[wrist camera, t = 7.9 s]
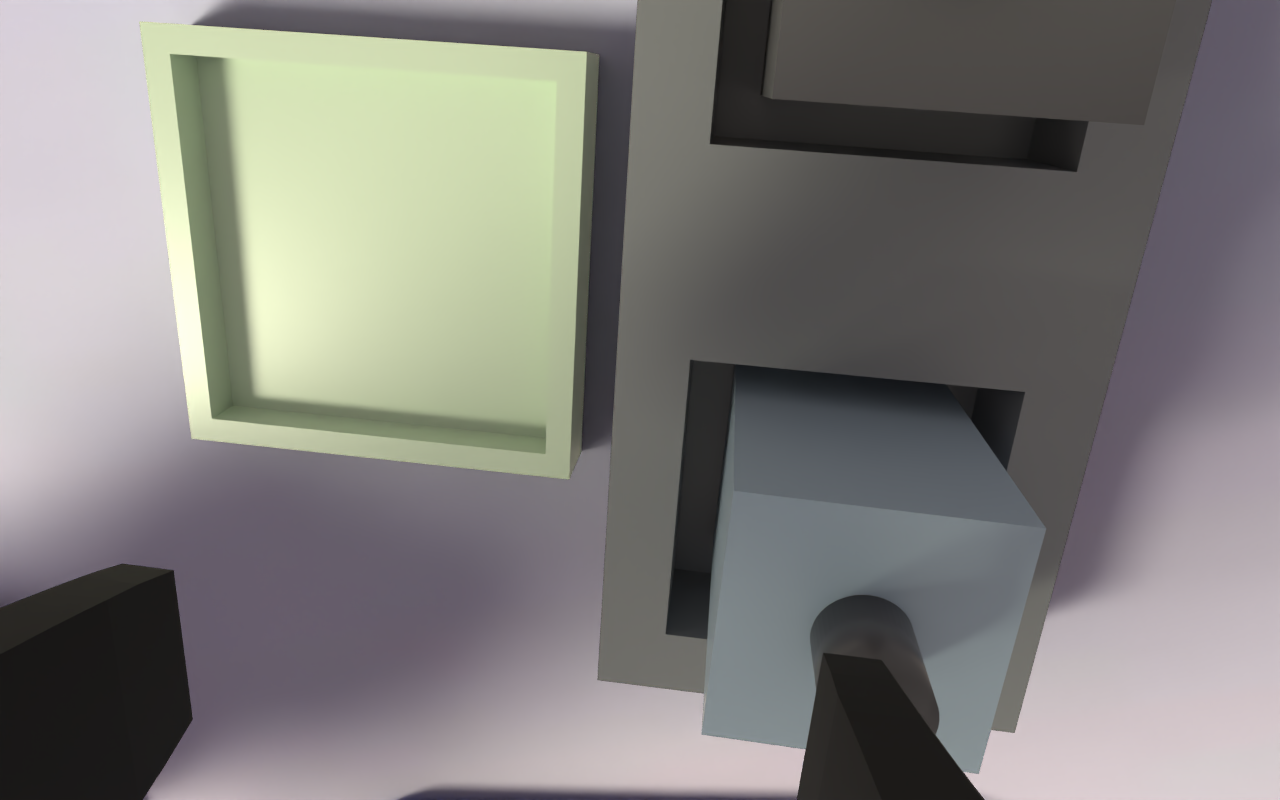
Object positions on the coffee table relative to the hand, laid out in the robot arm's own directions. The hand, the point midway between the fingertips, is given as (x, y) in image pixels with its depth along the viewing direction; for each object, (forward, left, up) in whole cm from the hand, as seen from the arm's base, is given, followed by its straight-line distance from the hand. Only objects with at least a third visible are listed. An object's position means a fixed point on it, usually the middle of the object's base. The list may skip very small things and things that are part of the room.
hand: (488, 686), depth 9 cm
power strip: (+5, +4, -9) cm, 11 cm away
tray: (-4, +3, -9) cm, 11 cm away
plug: (+5, -1, -9) cm, 10 cm away
